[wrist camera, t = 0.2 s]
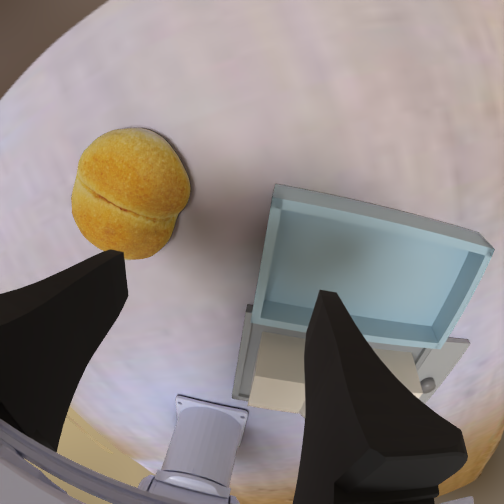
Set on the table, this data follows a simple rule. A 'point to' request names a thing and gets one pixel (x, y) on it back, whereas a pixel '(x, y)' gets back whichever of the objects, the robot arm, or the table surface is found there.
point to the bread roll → (129, 192)
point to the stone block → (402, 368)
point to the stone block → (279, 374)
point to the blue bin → (366, 267)
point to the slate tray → (426, 359)
